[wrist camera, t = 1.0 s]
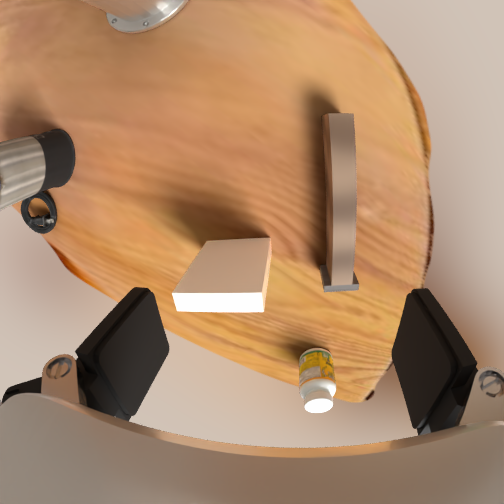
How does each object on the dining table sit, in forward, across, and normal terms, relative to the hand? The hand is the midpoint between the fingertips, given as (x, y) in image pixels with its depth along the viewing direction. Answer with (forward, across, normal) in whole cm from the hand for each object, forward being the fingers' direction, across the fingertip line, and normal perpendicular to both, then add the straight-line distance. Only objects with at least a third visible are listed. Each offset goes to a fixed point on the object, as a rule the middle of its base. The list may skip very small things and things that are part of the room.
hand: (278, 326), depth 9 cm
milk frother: (+23, +36, -6) cm, 43 cm away
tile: (+24, +6, +6) cm, 25 cm away
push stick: (+24, -5, 0) cm, 24 cm away
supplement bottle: (+25, -4, +26) cm, 36 cm away
